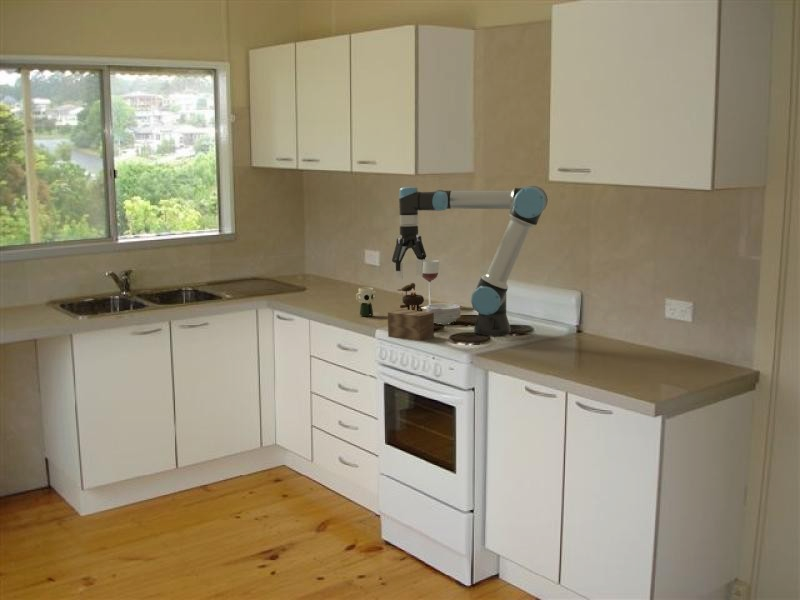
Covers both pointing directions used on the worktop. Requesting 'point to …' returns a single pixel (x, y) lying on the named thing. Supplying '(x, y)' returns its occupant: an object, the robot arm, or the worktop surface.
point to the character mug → (366, 300)
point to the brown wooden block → (411, 324)
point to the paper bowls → (444, 312)
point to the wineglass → (430, 273)
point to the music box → (411, 298)
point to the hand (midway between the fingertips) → (409, 277)
